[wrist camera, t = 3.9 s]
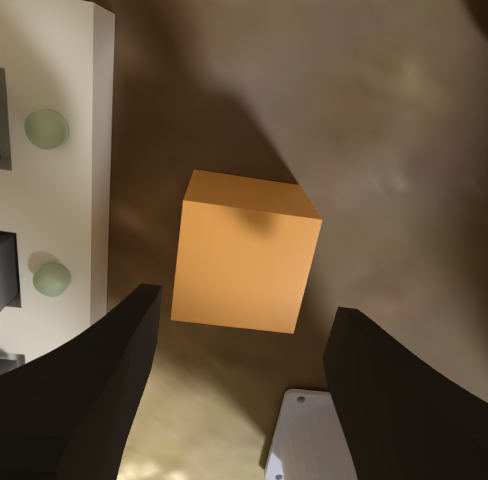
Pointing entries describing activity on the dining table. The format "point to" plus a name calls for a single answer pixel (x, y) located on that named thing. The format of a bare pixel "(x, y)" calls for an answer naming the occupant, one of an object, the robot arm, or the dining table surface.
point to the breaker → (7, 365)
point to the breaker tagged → (8, 268)
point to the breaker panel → (55, 168)
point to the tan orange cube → (243, 252)
